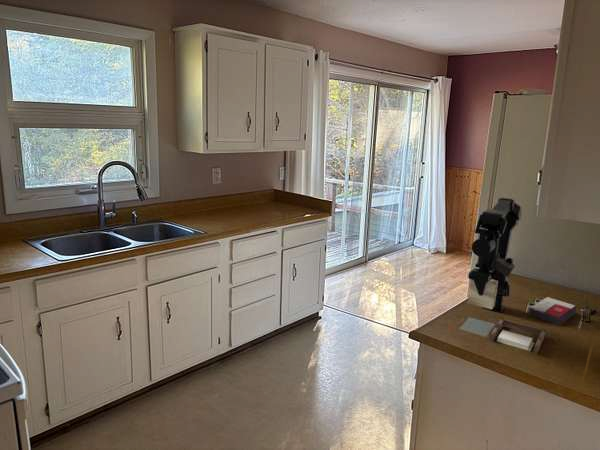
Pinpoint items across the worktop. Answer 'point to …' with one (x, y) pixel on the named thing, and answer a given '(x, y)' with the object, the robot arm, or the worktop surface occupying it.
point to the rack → (522, 328)
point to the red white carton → (553, 310)
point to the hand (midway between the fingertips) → (482, 293)
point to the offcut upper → (515, 339)
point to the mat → (477, 326)
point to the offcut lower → (522, 348)
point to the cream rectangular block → (488, 295)
